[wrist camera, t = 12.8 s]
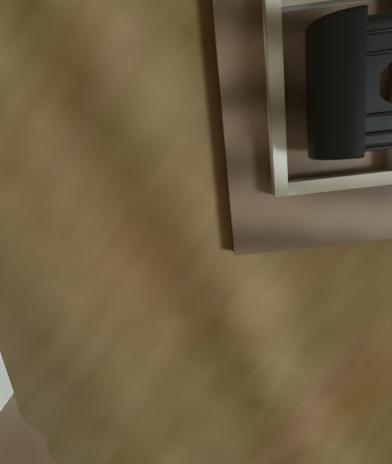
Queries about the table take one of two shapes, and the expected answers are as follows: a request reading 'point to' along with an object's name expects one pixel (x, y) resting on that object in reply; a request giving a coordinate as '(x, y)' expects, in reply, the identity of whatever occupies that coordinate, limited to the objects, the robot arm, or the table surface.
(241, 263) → the table surface
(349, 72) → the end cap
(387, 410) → the table surface
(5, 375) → the robot arm
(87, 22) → the table surface
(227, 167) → the lens rest
